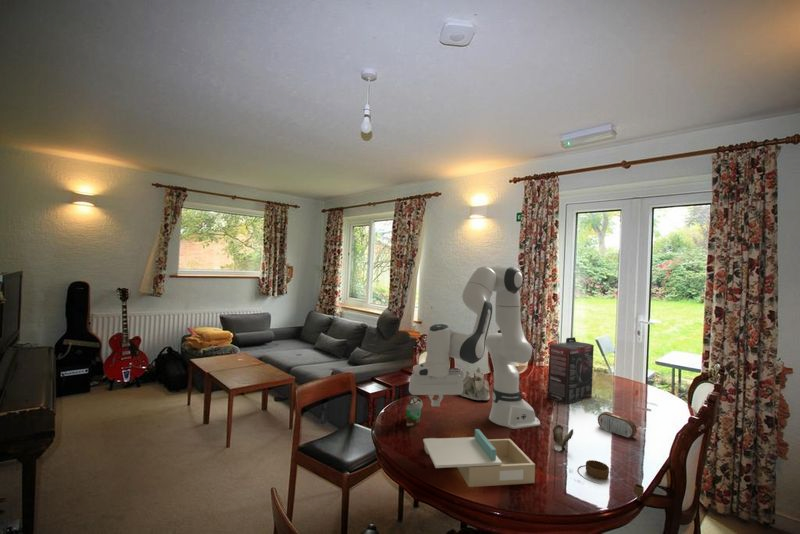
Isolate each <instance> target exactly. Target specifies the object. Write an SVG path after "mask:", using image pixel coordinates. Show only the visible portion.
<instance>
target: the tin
mask: <svg viewBox="0 0 800 534" xmlns="http://www.w3.org/2000/svg"><path fill="white" fill-rule="evenodd" d="M597 424H598V426H599V427H600V429H601V430H605V431H607V432H611V433H613V434H616V435H620V436H621V437H626V438H628V439H632V438H634V437H636V435H637V432H638V429H637V427H636V425H635V423H634V422H633V421H632V420H631V419H629V418H628V417H625V416H622V415H618V414H615V413H613V412H611V411H603V412H601V413H600V414H599V415H598V417H597Z"/></svg>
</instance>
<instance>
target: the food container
mask: <svg viewBox="0 0 800 534" xmlns="http://www.w3.org/2000/svg"><path fill="white" fill-rule="evenodd" d="M423 406H424V404H423V400H422V399H421V398H420V397H418V396H416V395H411V396H410V400H409V401H408V404H406V423H405V424H406V425H405V426H406V427H408V428H413V427H417V426H419V425H420V422H421V412H422V408H423Z"/></svg>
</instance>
